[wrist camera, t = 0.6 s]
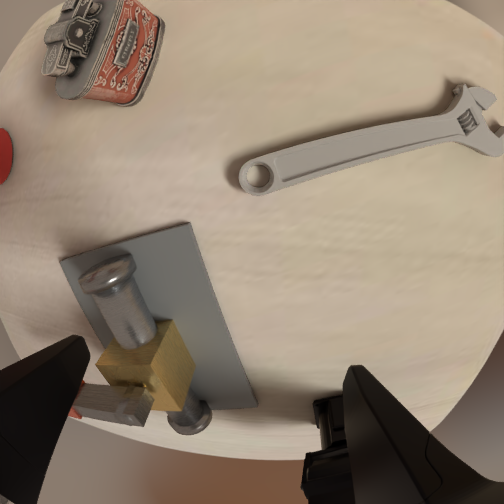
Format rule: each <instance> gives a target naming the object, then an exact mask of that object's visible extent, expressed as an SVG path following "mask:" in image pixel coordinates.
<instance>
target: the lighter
mask: <svg viewBox="0 0 504 504" xmlns="http://www.w3.org/2000/svg"><path fill="white" fill-rule="evenodd" d="M61 11H62V12H61V14H60V16H59V19H58V21H57V22H56V23H55V24H53V25H51V26H49V28H48V29H47V31H46V34H45V36H44V42H45V44H46V45H47V52H46V55H45V58H44V61H43V65H42V69H41V74H42V75H46V76H53V77H56V85H55V86H56V92H57V95H58V96H59V97H61V98H62V99H69V100H76V99H80V98H87V99H95V100H102V101H109V102H114V103H116V104H117V105H121V106H126V107H129V106H134V105H136V104H138V103H139V102H140V101H141V100H142V98H143V97H144V95H145V92H146V90H147V88H148V86H149V83H150V81H151V79H152V76H153V74H154V71H155V68H156V65H157V63H158V60H159V56H160V52H161V48H162V44H163V38H164V31H165V23H164V21H163V20H162V19H161V18H160V17H159V16H157V15H155V14H152V13H151V12H150V11H149V10H148V9H146V8H145V7H144V6H143V5H142V4H141V3H140V2H138V1H137V0H65V2H64V5H63V7H62V9H61Z"/></svg>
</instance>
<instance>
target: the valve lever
mask: <svg viewBox="0 0 504 504" xmlns="http://www.w3.org/2000/svg"><path fill="white" fill-rule="evenodd" d="M154 400H155V399H154V398H153V397H152V395H151V394H150V393H149V391H148V390H147V388H146V387H136V386H133V385H129V386H127V387H123V386H109V385H97V384H87V383H85V382H84V381H83V380H82V383H81V386H80V389H79V391H78V394H77V396H76V398H75V401H74V403H73V405H72V407H71V410H70V412H69V414H68V416H71V417H74V418H78V419H81V418H82V416H83V417H88V418H93V419H97V420H103V421H108V422H114V423H120V424H126V425H129V426H141V427H144V425H145V423H146V420H147V418H148V415H149V412H150V410H151V407H152V405H153V402H154Z"/></svg>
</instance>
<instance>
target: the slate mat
mask: <svg viewBox="0 0 504 504" xmlns="http://www.w3.org/2000/svg"><path fill="white" fill-rule="evenodd" d="M127 254H132V255H133V258H134V260H135V263H136V265H137V269H136V271H135V272H134V273H133V276H134V278H135V281H136V283H137V285H138V287H139V290H140V292H141V294H142V296H143V298H144V300H145V303H146V305H147V307H148V309H149V311H150V313H151V315H152V317H153V319H154V321H155V322H156V321H164V320H172V319H173V321H174V323H175V325H176V327H177V329H178V331H179V333H180V335H181V337H182V339H183V341H184V343H185V345H186V347H187V349H188V351H189V353H190V355H191V357H192V359H193V361H194V363H195V365H196V367H195V370H194V374H193V377H192V380H191V383H190V386H191V388H192V389H193V391H194V393H195V394H196V396H197V397H198V399H199V400H205V401H206V402H207V404H208V405H209V407H210V408H211V410H222V409H241V408H254V407H258V402H257V400H256V397H255V395H254V393H253V390H252V388H251V385H250V383H249V381H248V378H247V376H246V373H245V371H244V369H243V366H242V364H241V361H240V359H239V356H238V354H237V351H236V349H235V346H234V344H233V341H232V338H231V336H230V333H229V331H228V328H227V325H226V323H225V320H224V317H223V315H222V312H221V309H220V307H219V304H218V301H217V299H216V296H215V293H214V290H213V288H212V285H211V282H210V279H209V276H208V273H207V271H206V268H205V265H204V262H203V259H202V256H201V253H200V250H199V247H198V244H197V241H196V238H195V235H194V232H193V229H192V226H191V223H186V224H182V225H178V226H174V227H171V228H167V229H163V230H160V231H156V232H152V233H149V234H145V235H142V236H138V237H135V238H131V239H128V240H124V241H121V242H118V243H114V244H111V245H107V246H104V247H101V248H98V249H94V250H91V251H88V252H85V253H82V254H78V255H75V256H72V257H69V258H66V259H63V260H61V261H60V264H61V267H62V269H63V271H64V273H65V276H66V278H67V280H68V282H69V284H70V286H71V288H72V290H73V292H74V294H75V296H76V298H77V300H78V302H79V304H80V306H81V308H82V310H83V312H84V314H85V315H86V317H87V319H88V321H89V323H90V324H91V326H92V328H93V330H94V331H95V333H96V335H97V336H98V338H99V340H100V341H101V343H102V344H103V346H104V348H105V349H106V348H107V346H108V345H109V344H110V342H111V341H112V339H113V338H114V335H113V333H112V331H111V330H110V328H109V326H108V324H107V323H106V321H105V319H104V317H103V315H102V313H101V311H100V310H99V308H98V306H97V304H96V302H95V300H94V298H93V296H92V294H91V295H87V294H84V293H83V291H82V289H81V287H80V285H79V283H78V278H79V277H80V276H81V275H82V274H83V273H84V272H85V271H86V270H88V269H89V268H91V267H92V266H94V265H96V264H98V263H100V262H102V261H104V260H107V259H109V258H112V257H115V256H120V255H127Z"/></svg>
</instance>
